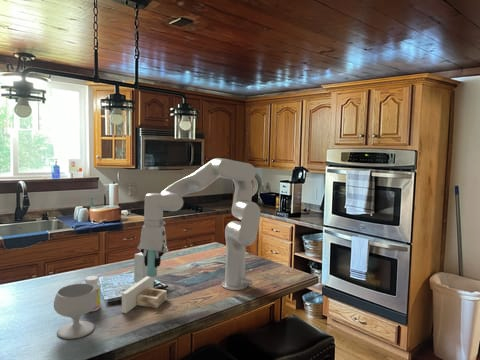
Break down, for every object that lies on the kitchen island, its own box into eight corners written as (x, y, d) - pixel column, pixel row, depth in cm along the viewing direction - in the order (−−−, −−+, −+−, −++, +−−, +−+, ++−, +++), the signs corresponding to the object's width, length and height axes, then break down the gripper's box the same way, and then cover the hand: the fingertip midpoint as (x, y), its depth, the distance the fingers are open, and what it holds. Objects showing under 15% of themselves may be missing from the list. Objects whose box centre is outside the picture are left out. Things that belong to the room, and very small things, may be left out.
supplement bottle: (79, 312, 139) (79, 280, 137) (85, 304, 145) (85, 274, 144) (97, 312, 139) (97, 281, 138) (102, 305, 146) (102, 274, 144)
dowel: (158, 274, 150) (159, 246, 149) (154, 277, 146) (154, 249, 145) (150, 273, 151) (150, 245, 150) (145, 276, 147) (145, 248, 146)
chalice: (104, 322, 132) (104, 283, 130) (85, 342, 118) (85, 299, 116) (68, 319, 133) (67, 281, 131) (45, 339, 119) (44, 297, 117)
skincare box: (142, 287, 165) (143, 256, 164) (133, 284, 168) (133, 253, 167) (155, 281, 173) (155, 251, 171) (146, 278, 176) (146, 249, 174)
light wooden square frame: (166, 299, 153) (166, 290, 153) (156, 308, 144) (156, 298, 144) (147, 296, 155) (148, 287, 155) (137, 304, 146) (137, 295, 146)
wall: (153, 291, 161) (153, 274, 160) (126, 313, 139) (126, 293, 139) (149, 291, 161) (149, 274, 160) (121, 312, 140) (121, 293, 139)
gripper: (175, 223, 148) (174, 265, 150) (140, 219, 152) (139, 260, 154) (167, 226, 141) (166, 271, 142) (130, 222, 145) (129, 266, 147)
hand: (152, 265), depth 148 cm, fingers closed on dowel, 4 cm apart
